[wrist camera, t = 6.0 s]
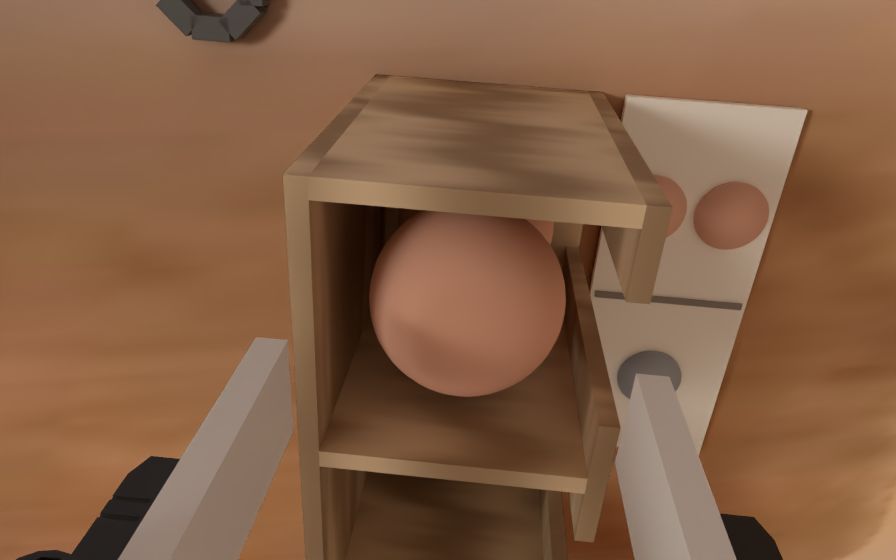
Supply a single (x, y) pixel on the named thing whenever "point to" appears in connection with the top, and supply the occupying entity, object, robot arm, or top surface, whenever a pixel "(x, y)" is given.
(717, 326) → the card
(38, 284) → the top surface
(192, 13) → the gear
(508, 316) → the terra ball
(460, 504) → the box
